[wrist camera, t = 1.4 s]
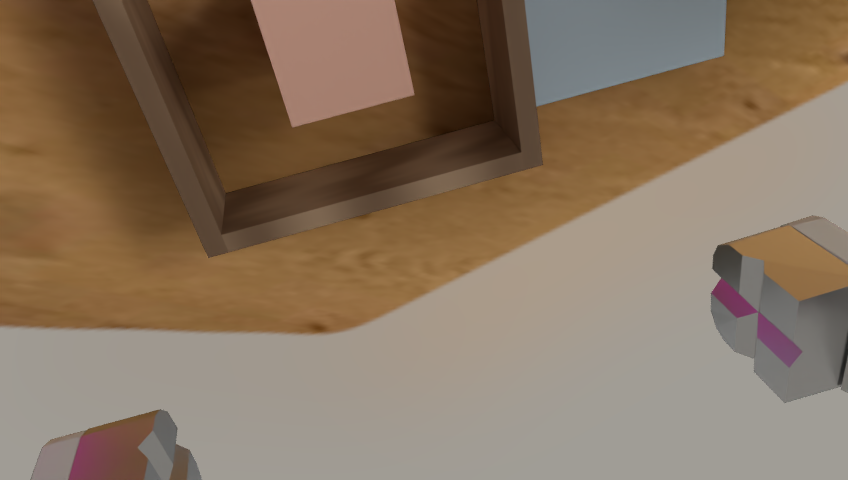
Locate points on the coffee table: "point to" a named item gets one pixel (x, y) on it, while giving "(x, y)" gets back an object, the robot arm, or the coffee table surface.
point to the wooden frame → (342, 182)
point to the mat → (617, 41)
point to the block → (334, 55)
